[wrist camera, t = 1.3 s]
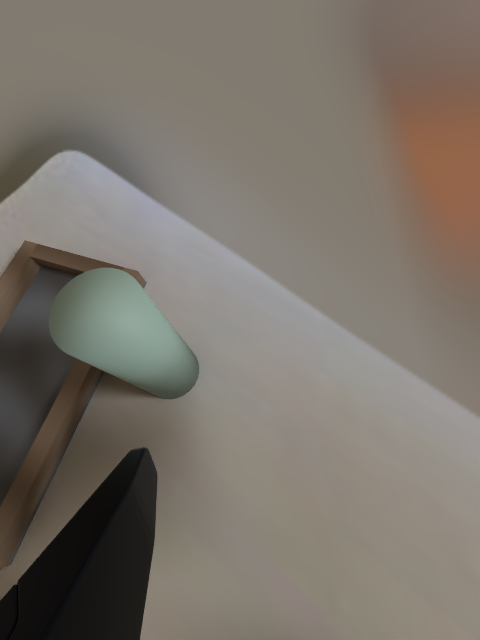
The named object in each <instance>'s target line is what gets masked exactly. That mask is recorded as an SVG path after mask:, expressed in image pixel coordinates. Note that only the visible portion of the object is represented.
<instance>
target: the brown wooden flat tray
mask: <svg viewBox="0 0 480 640" xmlns="http://www.w3.org/2000/svg"><path fill="white" fill-rule="evenodd" d="M97 268H115V269H119V270H122V271H125V272H127V273H128V274H130V275H131V276H133V277H134V278H135V279H136V280H137V282H138V283H139V284H140V285H141V287H142V288H143V289H144V287H145V284H146V281H145V280H144V279H143V277H142V276H141V275H140V273H139V272H138V271H135V270H131V269H128V268H124V267H120V266H117V265H113V264H109V263H106V262H102V261H98V260H95V259H91V258H87V257H84V256H80V255H76V254H73V253H69V252H65V251H62V250H58V249H54V248H51V247H47V246H43V245H40V244H36V243H32V242H29V241H24V243H23V244H22V246H21V247H20V249H19V250H18V252H17V253H16V255H15V257H14V258H13V260H12V261H11V263H10V264H9V266H8V267H7V269H6V270H5V272H4V273H3V275H2V276H1V278H0V569H1V568H3V567H5V566H8V565H10V564H11V562H12V560H13V558H14V556H15V554H16V552H17V550H18V548H19V546H20V544H21V542H22V540H23V537H24V535H25V533H26V531H27V529H28V527H29V525H30V523H31V521H32V519H33V517H34V515H35V513H36V510H37V508H38V506H39V504H40V502H41V500H42V498H43V496H44V494H45V492H46V490H47V488H48V486H49V484H50V481H51V479H52V477H53V475H54V473H55V471H56V469H57V467H58V465H59V463H60V461H61V459H62V457H63V455H64V452H65V450H66V448H67V446H68V444H69V442H70V440H71V438H72V436H73V434H74V432H75V430H76V428H77V425H78V423H79V421H80V419H81V417H82V415H83V413H84V411H85V409H86V407H87V405H88V403H89V401H90V399H91V396H92V394H93V392H94V390H95V388H96V386H97V384H98V382H99V380H100V378H101V376H102V374H103V372H104V371H103V370H100V369H98V368H96V367H94V366H92V365H90V364H88V363H86V362H83V361H81V360H79V359H77V358H75V357H73V356H71V355H69V354H67V353H65V352H64V351H62V350H61V349H60V348H59V347H58V346H57V345H56V344H55V342H54V341H53V339H52V337H51V334H50V330H49V313H50V309H51V306H52V304H53V302H54V300H55V298H56V296H57V295H58V293H59V292H60V291H61V289H62V288H63V287H64V286H65V285H66V284H67V283H68V282H69V281H71V280H72V279H73V278H75V277H76V276H78V275H80V274H82V273H84V272H86V271H89V270H93V269H97Z"/></svg>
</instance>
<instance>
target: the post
mask: <svg viewBox="0 0 480 640" xmlns="http://www.w3.org/2000/svg"><path fill="white" fill-rule="evenodd" d="M49 330H50V334H51V337H52V339H53V341H54V342H55V344H56V345H57V346H58V347H59V348H60V349H61V350H62V351H64V352H65V353H67V354H69V355H71V356H73V357H75V358H77V359H79V360H81V361H83V362H86V363H88V364H90V365H92V366H94V367H96V368H98V369H100V370H103V371H105V372H107V373H109V374H111V375H113V376H115V377H117V378H119V379H122V380H124V381H126V382H128V383H130V384H132V385H134V386H136V387H139V388H141V389H143V390H145V391H147V392H149V393H151V394H153V395H155V396H158V397H160V398H163V399H175V398H179V397H181V396H183V395H185V394H186V393H187V392H189V391H190V390H191V389H192V387H193V386H194V384H195V383H196V381H197V378H198V374H199V364H198V360H197V358H196V356H195V354H194V353H193V352H192V350H191V349H190V348H189V347H188V345H187V344H186V343H185V341H184V340H183V339H182V338H181V336H180V335H179V334H178V333H177V331H176V330H175V329H174V327H173V326H172V325H171V324H170V322H169V321H168V320H167V319H166V317H165V316H164V315H163V313H162V312H161V311H160V310H159V308H158V307H157V306H156V305H155V303H154V302H153V301H152V299H151V298H150V297H149V296H148V294H147V293H146V292H145V291H144V289H143V288H142V287H141V285H140V284H139V283H138V282H137V280H136V279H135V278H134V277H133V276H131V275H130V274H128V273H127V272H125V271H122V270H119V269H115V268H97V269H93V270H89V271H86V272H84V273H82V274H80V275H78V276H76V277H75V278H73V279H72V280H71V281H69V282H68V283H67V284H66V285H65V286H64V287H63V288H62V289H61V291H60V292H59V293H58V295H57V296H56V298H55V300H54V302H53V304H52V306H51V309H50V313H49Z"/></svg>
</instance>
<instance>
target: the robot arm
mask: <svg viewBox="0 0 480 640" xmlns="http://www.w3.org/2000/svg"><path fill="white" fill-rule="evenodd" d="M156 498H157V471H156V468H155V465H154V463H153V460H152V458H151V455H150V452H149V450H148V449H147V448H145V447H143V448H138V449H133V450H131V451H130V452H129V453H128V454H127V455H126V456H125V457H124V458H123V459H122V461H121V462H120V463H119V464H118V465H117V466H116V468H115V469H114V470H113V471H112V472H111V473H110V475H109V476H108V477H107V478H106V479H105V480H104V482H103V483H102V484H101V485H100V486H99V487H98V488H97V490H96V491H95V492H94V493H93V494H92V495H91V497H90V498H89V499H88V500H87V501H86V502H85V504H84V505H83V506H82V507H81V508H80V509H79V510H78V512H77V513H76V514H75V515H74V516H73V517H72V519H71V520H70V521H69V522H68V523H67V524H66V526H65V527H64V528H63V529H62V530H61V531H60V533H59V534H58V535H57V536H56V537H55V538H54V539H53V541H52V542H51V543H50V544H49V545H48V546H47V548H46V549H45V550H44V551H43V552H42V553H41V555H40V556H39V557H38V558H37V559H36V560H35V561H34V563H33V564H32V565H31V566H30V567H29V568H28V570H27V571H26V572H25V573H24V574H23V575H22V577H21V578H20V579H19V580H18V583H17V584H16V585H14V586H13V587H12V588H11V589H10V590H9V591H8V593H7V594H6V595H5V596H4V597H3V598H2V600H1V601H0V640H140V634H141V628H142V621H143V614H144V608H145V601H146V594H147V588H148V581H149V574H150V568H151V561H152V554H153V547H154V538H155V520H156Z"/></svg>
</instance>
